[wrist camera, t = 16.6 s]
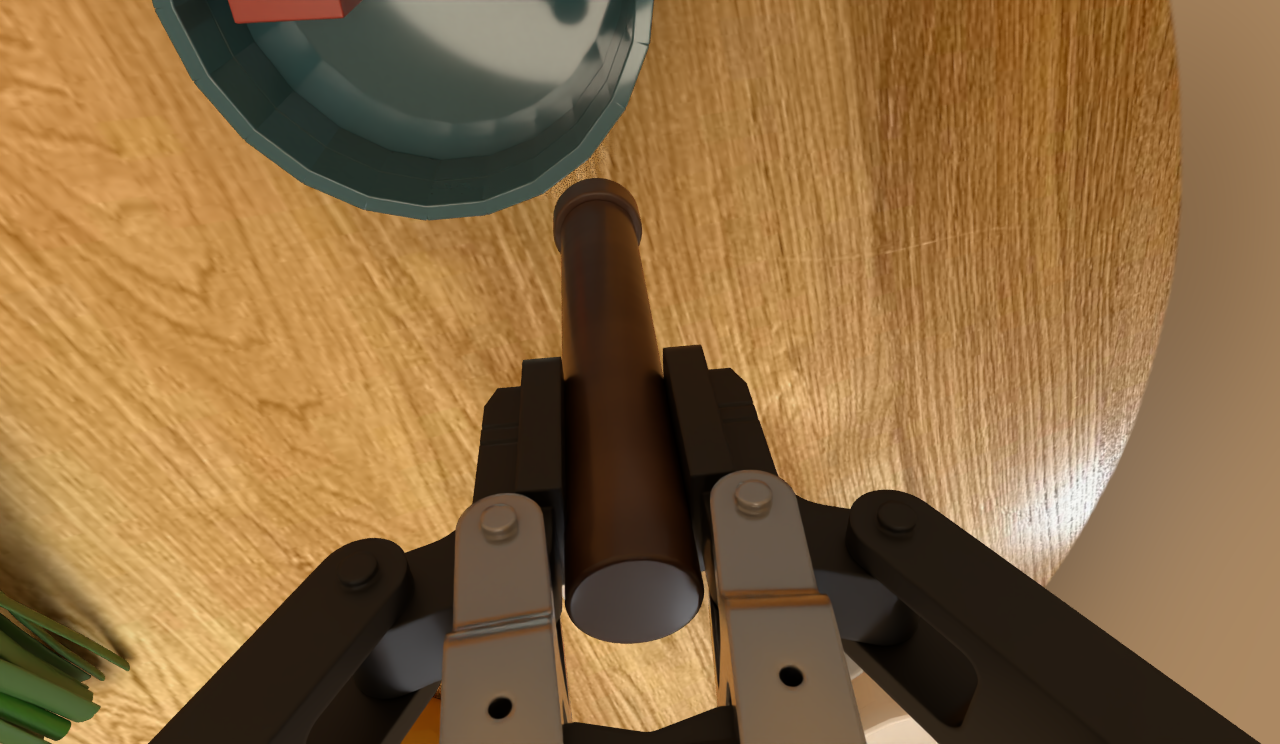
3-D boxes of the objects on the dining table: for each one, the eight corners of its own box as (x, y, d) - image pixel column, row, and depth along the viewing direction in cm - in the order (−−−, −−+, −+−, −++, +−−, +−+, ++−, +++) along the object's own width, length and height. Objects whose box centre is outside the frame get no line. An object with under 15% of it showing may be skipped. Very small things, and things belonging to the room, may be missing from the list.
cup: (787, 670, 65) (819, 781, 57) (840, 596, 59) (883, 707, 52) (888, 681, 67) (931, 789, 60) (947, 611, 62) (1003, 719, 54)
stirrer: (548, 180, 20) (540, 556, 10) (637, 173, 21) (720, 538, 10) (558, 259, 22) (559, 662, 11) (640, 253, 22) (718, 645, 12)
